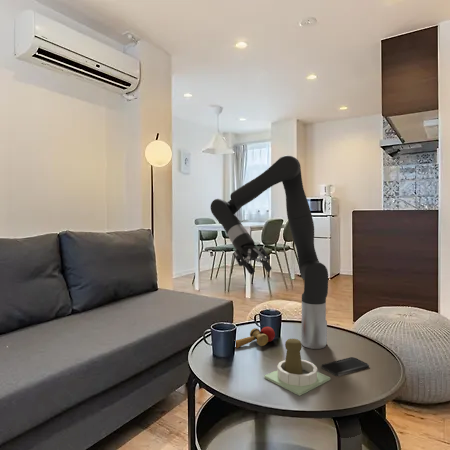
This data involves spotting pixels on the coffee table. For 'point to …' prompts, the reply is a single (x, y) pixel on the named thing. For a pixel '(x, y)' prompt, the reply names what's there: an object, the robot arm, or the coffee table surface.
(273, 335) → the kendama
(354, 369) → the phone
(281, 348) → the coffee table surface
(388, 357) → the coffee table surface
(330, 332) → the coffee table surface
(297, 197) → the robot arm
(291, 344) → the cork
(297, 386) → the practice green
